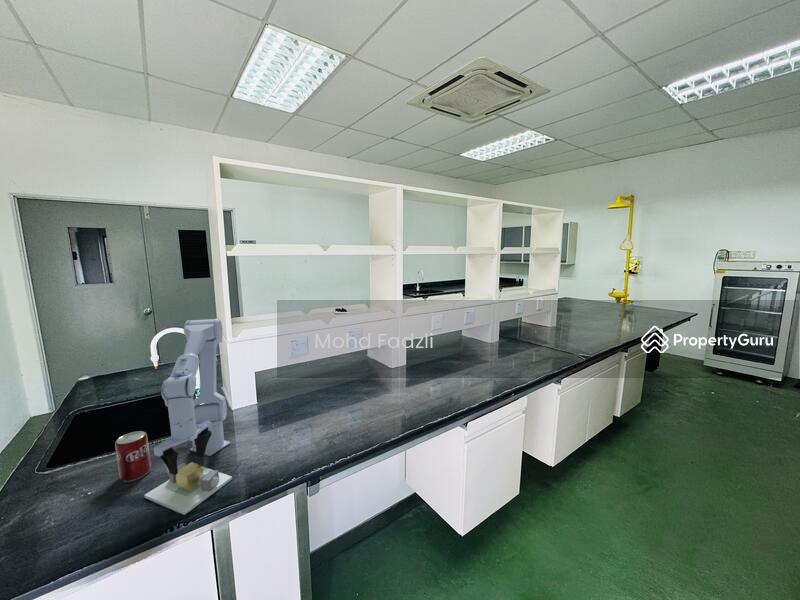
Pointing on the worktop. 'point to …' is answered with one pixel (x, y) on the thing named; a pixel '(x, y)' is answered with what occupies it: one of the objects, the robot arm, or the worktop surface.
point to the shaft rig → (184, 500)
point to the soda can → (133, 456)
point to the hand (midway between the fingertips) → (187, 464)
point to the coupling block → (189, 477)
